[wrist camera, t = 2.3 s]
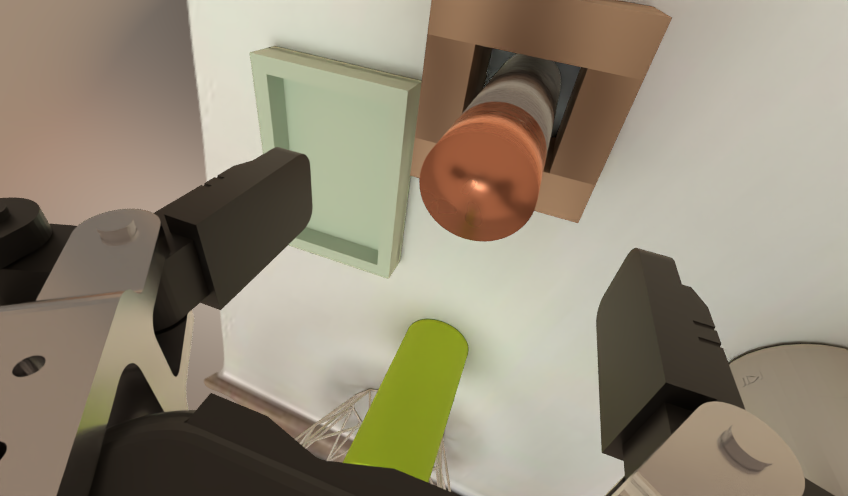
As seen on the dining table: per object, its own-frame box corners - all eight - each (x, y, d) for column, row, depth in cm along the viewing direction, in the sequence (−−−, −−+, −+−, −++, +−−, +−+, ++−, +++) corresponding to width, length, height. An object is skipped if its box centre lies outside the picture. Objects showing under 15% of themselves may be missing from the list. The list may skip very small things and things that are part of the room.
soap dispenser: (412, 302, 34) (268, 580, 19) (480, 343, 34) (393, 653, 19) (388, 336, 38) (252, 591, 22) (450, 373, 38) (356, 652, 22)
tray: (422, 81, 23) (408, 91, 21) (400, 260, 32) (388, 278, 30) (274, 46, 25) (249, 52, 23) (291, 225, 33) (274, 240, 32)
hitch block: (653, 6, 18) (672, 17, 14) (579, 180, 23) (578, 222, 20) (464, -28, 19) (435, -27, 16) (437, 143, 25) (410, 175, 21)
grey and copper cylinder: (571, 58, 20) (556, 150, 10) (548, 125, 22) (518, 255, 12) (504, 44, 21) (427, 117, 11) (488, 110, 23) (412, 222, 13)
